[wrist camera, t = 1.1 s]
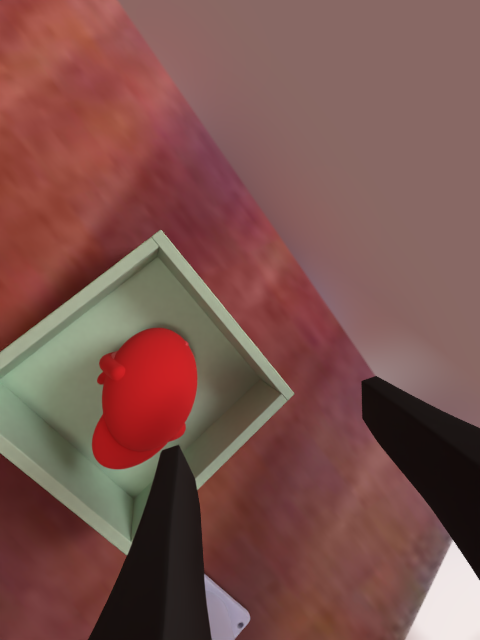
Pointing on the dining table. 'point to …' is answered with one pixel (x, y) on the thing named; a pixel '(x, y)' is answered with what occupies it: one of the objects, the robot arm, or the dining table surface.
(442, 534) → the dining table surface
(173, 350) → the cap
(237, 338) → the bin
